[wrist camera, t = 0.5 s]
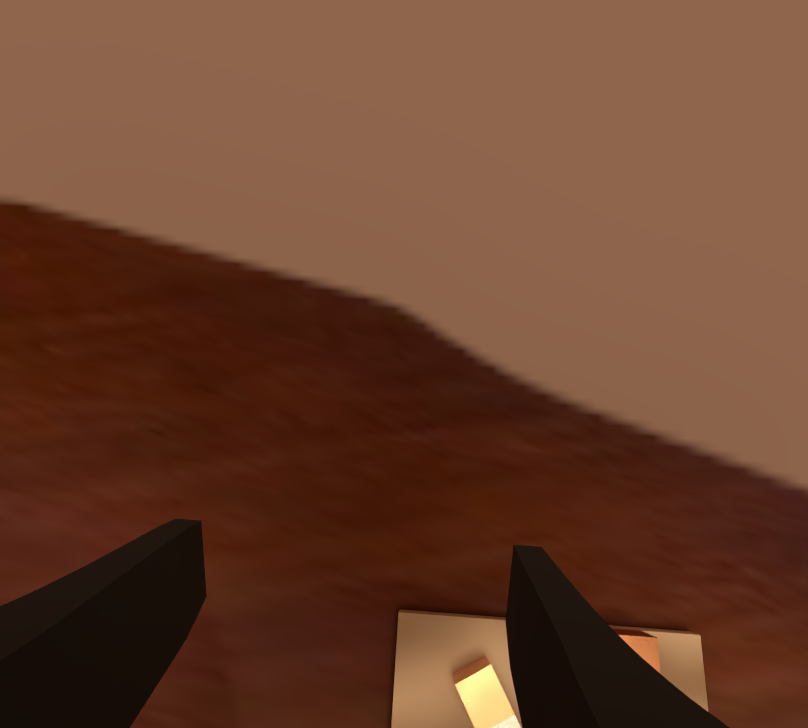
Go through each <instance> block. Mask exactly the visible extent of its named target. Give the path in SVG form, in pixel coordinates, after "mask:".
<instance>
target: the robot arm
mask: <svg viewBox="0 0 808 728" xmlns="http://www.w3.org/2000/svg"><path fill="white" fill-rule="evenodd" d="M205 598H206V584H205V569H204V555H203V541H202V526H201V521H197V520H184V519H175V520H172V521H170V522H168V523H166V524H163V525H161V526H159V527H157V528H155V529H154V530H152V531H150V532H148V533H146V534H144V535H142V536H140V537H139V538H137V539H135V540H133V541H131V542H129V543H127V544H126V545H124V546H122V547H120V548H118V549H116V550H114V551H113V552H111V553H109V554H107V555H105V556H103V557H101V558H100V559H98V560H96V561H94V562H92V563H90V564H88V565H86V566H84V567H82V568H80V569H78V570H76V571H74V572H72V573H70V574H68V575H66V576H64V577H62V578H60V579H58V580H56V581H54V582H52V583H50V584H48V585H46V586H44V587H42V588H40V589H38V590H36V591H34V592H31V593H29V594H27V595H25V596H23V597H20V598H18V599H16V600H14V601H11V602H9V603H7V604H4V605H2V606H0V728H130V726H131V725H132V723H133V722H134V720H135V719H136V717H137V715H138V714H139V712H140V711H141V709H142V708H143V706H144V705H145V703H146V701H147V700H148V698H149V697H150V695H151V694H152V692H153V691H154V689H155V687H156V686H157V684H158V683H159V681H160V680H161V678H162V677H163V675H164V673H165V672H166V670H167V669H168V667H169V666H170V664H171V662H172V661H173V659H174V658H175V656H176V654H177V653H178V651H179V650H180V648H181V646H182V645H183V643H184V642H185V640H186V638H187V636H188V634H189V632H190V630H191V628H192V626H193V624H194V622H195V620H196V618H197V616H198V614H199V611H200V609H201V607H202V605H203V603H204V600H205ZM506 632H507V643H508V653H509V662H510V670H511V675H512V680H513V685H514V690H515V694H516V699H517V704H518V709H519V713H520V718H521V723H522V727H523V728H729V727H728V726H726V725H725V724H724V723H722V722H721V721H720V720H718V719H717V718H716V717H714V716H713V715H712V714H710V713H709V712H708V711H706V710H705V709H704V708H702V707H701V706H700V705H698V704H697V703H696V702H694V701H693V700H692V699H690V698H689V697H688V696H687V695H685V694H684V693H683V692H682V691H680V690H679V689H678V688H677V687H675V686H674V685H673V684H672V683H671V682H669V681H668V680H667V679H666V678H665V677H664V676H663V675H661V674H660V673H659V672H658V671H657V670H656V669H654V668H653V667H652V666H651V665H650V664H649V663H648V662H646V661H645V660H644V659H643V658H642V657H641V656H640V655H639V654H638V653H636V652H635V651H634V650H633V649H632V648H631V647H630V646H629V645H628V644H627V643H626V642H625V641H624V640H623V639H622V638H621V637H620V636H619V635H618V634H617V633H616V632H615V631H614V630H613V629H612V628H611V627H610V626H609V625H608V624H607V623H606V622H605V621H604V620H603V619H602V618H601V617H600V616H599V614H598V613H597V612H596V611H595V610H594V609H593V608H592V607H591V606H590V604H589V603H588V602H587V601H586V600H585V599H584V598H583V597H582V595H581V594H580V593H579V592H578V591H577V590H576V588H575V587H574V586H573V585H572V584H571V582H570V581H569V580H568V579H567V578H566V576H565V575H564V574H563V573H562V571H561V570H560V569H559V568H558V567H557V565H556V564H555V563H554V562H553V560H552V559H551V558H550V557H549V555H548V554H547V553H546V552H545V551H544V550H543V548H542V547H535V546H522V545H514V546H513V556H512V565H511V575H510V585H509V594H508V604H507V614H506Z"/></svg>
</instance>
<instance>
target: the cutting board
mask: <svg viewBox="0 0 808 728" xmlns="http://www.w3.org/2000/svg"><path fill="white" fill-rule="evenodd" d="M609 626H610V627H611V628H614V629H627V630H640V631H643V632H645V633H648V634H650V635H652V636H655V637H657V638H658V651H659V663H660V674H661V675H663V676H664V677H665V678H666V679H667V680H668V681H669V682H671V683H672V684H673V685H674V686H675V687H677V688H678V689H679V690H680V691H682V692H683V693H684V694H685V695H687V696H688V697H689V698H690V699H692V700H693V701H694V702H696V703H697V704H698V705H700V706H701V707H702V708H704V709H705V710H706V711H708V704H707V695H706V685H705V676H704V666H703V657H702V647H701V638H700V635H699V634H696V633H693V632H690V631H679V630H666V629H652V628H639V627H626V626H613V625H609ZM483 656H486V657H487V659H488V661H489V662H490V664H491V666H492V668H493V670H494V672H495V674H496V676H497V678H498V680H499V683H500V685H501V687H502V689H503V691H504V693H505V695H506V697H507V699H508V701H509V703H510V705H511V707H512V710H513V712H514V714H515V716H516V718H517V720H518V722H519V724H520V726H521V728H523V727H522V723H521V718H520V713H519V709H518V704H517V699H516V694H515V690H514V685H513V680H512V675H511V670H510V662H509V653H508V643H507V632H506V617H494V616H480V615H467V614H454V613H441V612H427V611H414V610H401V609H399V614H398V630H397V645H396V661H395V677H394V693H393V709H392V724H391V728H475V727H474V725H473V723H472V721H471V718H470V716H469V714H468V712H467V710H466V707H465V705H464V703H463V701H462V699H461V696H460V694H459V692H458V690H457V688H456V686H455V682H454V679H453V675H452V674H453V673H455V672H456V671H458V670H460V669H462V668H463V667H465V666H467V665H469V664H471V663H472V662H474V661H476V660H478V659H479V658H481V657H483Z"/></svg>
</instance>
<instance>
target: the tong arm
mask: <svg viewBox="0 0 808 728" xmlns="http://www.w3.org/2000/svg"><path fill="white" fill-rule="evenodd" d="M452 675H453V679H454V682H455V686H456V688H457V690H458V692H459V694H460V696H461V699H462V701H463V703H464V705H465V707H466V710H467V712H468V714H469V716H470V718H471V721H472V723H473V725H474V727H475V728H521V726H520V724H519V722H518V720H517V718H516V716H515V714H514V712H513V710H512V707H511V705H510V703H509V701H508V699H507V697H506V695H505V693H504V691H503V689H502V687H501V685H500V683H499V680H498V678H497V676H496V674H495V672H494V670H493V668H492V666H491V664H490V662H489V661H488V659H487V657H486V656H483V657H481V658H479V659H478V660H476V661H474V662H472V663H471V664H469V665H467V666H465V667H463V668H462V669H460V670H458V671H456V672H455V673H453V674H452Z"/></svg>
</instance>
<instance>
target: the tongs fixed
mask: <svg viewBox="0 0 808 728" xmlns="http://www.w3.org/2000/svg"><path fill="white" fill-rule="evenodd" d="M612 629H613V630H614V631H615V632H616V633H617V634H618V635H619V636H620V637H621V638H622V639H623V640H624V641H625V642H626V643H627V644H628V645H629V646H630V647H631V648H632V649H633V650H634V651H635V652H636V653H638V654H639V655H640V656H641V657H642V658H643V659H644V660H645V661H646V662H648V663H649V664H650V665H651V666H652V667H653V668H654V669H656V670H657V671H658V672H659V673H660V663H659V651H658V638H657V637H655V636H652V635H650V634H648V633H645V632H643V631H640V630H627V629H614V628H612Z"/></svg>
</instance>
